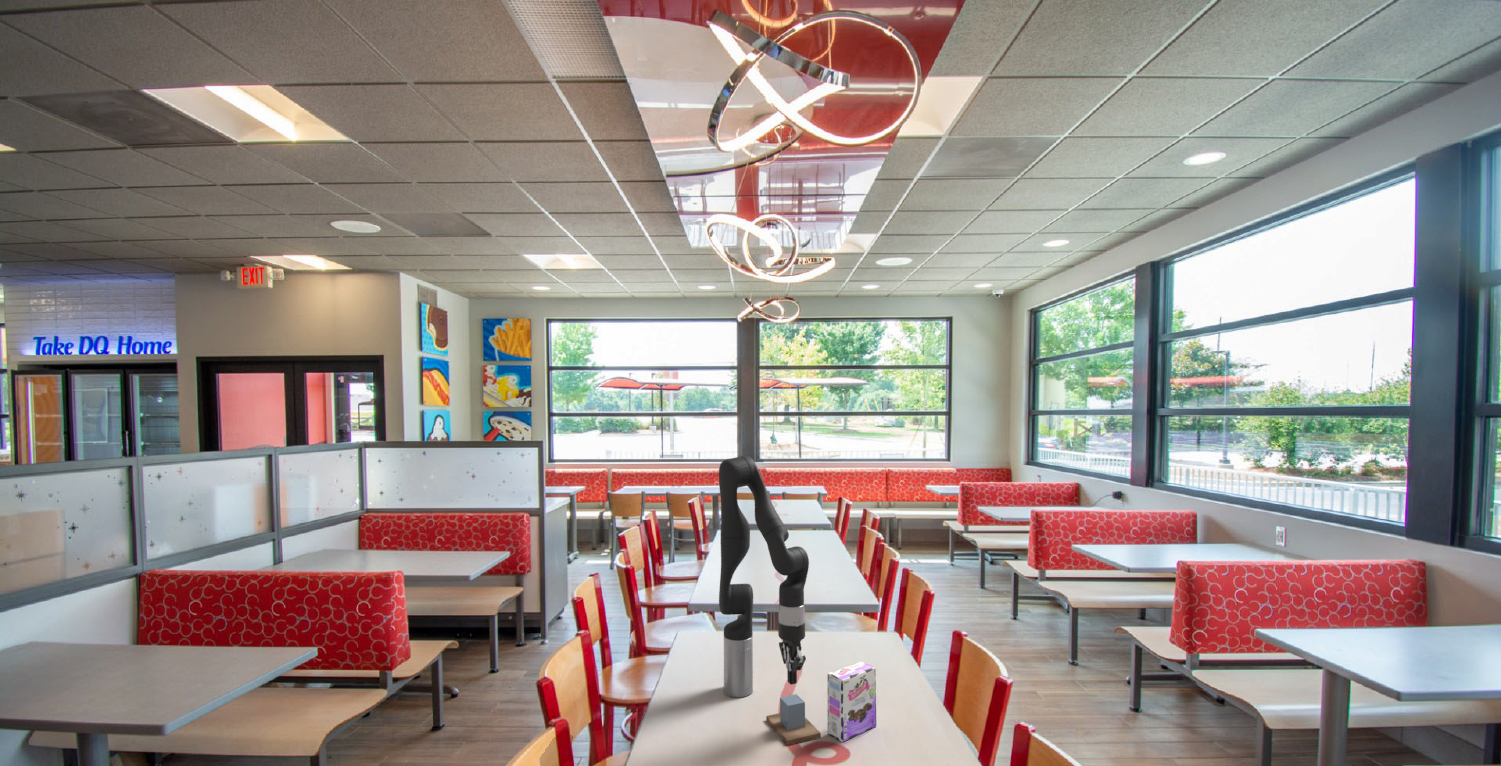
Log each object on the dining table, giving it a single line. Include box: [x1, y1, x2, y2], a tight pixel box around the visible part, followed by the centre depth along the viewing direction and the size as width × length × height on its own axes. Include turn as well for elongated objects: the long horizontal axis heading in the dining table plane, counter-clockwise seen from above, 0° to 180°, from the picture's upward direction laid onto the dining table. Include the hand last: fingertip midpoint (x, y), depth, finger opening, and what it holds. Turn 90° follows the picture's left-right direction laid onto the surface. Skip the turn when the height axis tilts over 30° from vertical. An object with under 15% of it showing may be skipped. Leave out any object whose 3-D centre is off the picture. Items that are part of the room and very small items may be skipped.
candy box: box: [827, 661, 877, 743], centre depth 165 cm, size 14×6×16 cm, turn 126°
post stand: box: [765, 712, 822, 746], centre depth 166 cm, size 14×10×7 cm
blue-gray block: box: [779, 693, 806, 731], centre depth 166 cm, size 5×5×7 cm
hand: (792, 682), depth 166 cm, fingers closed
